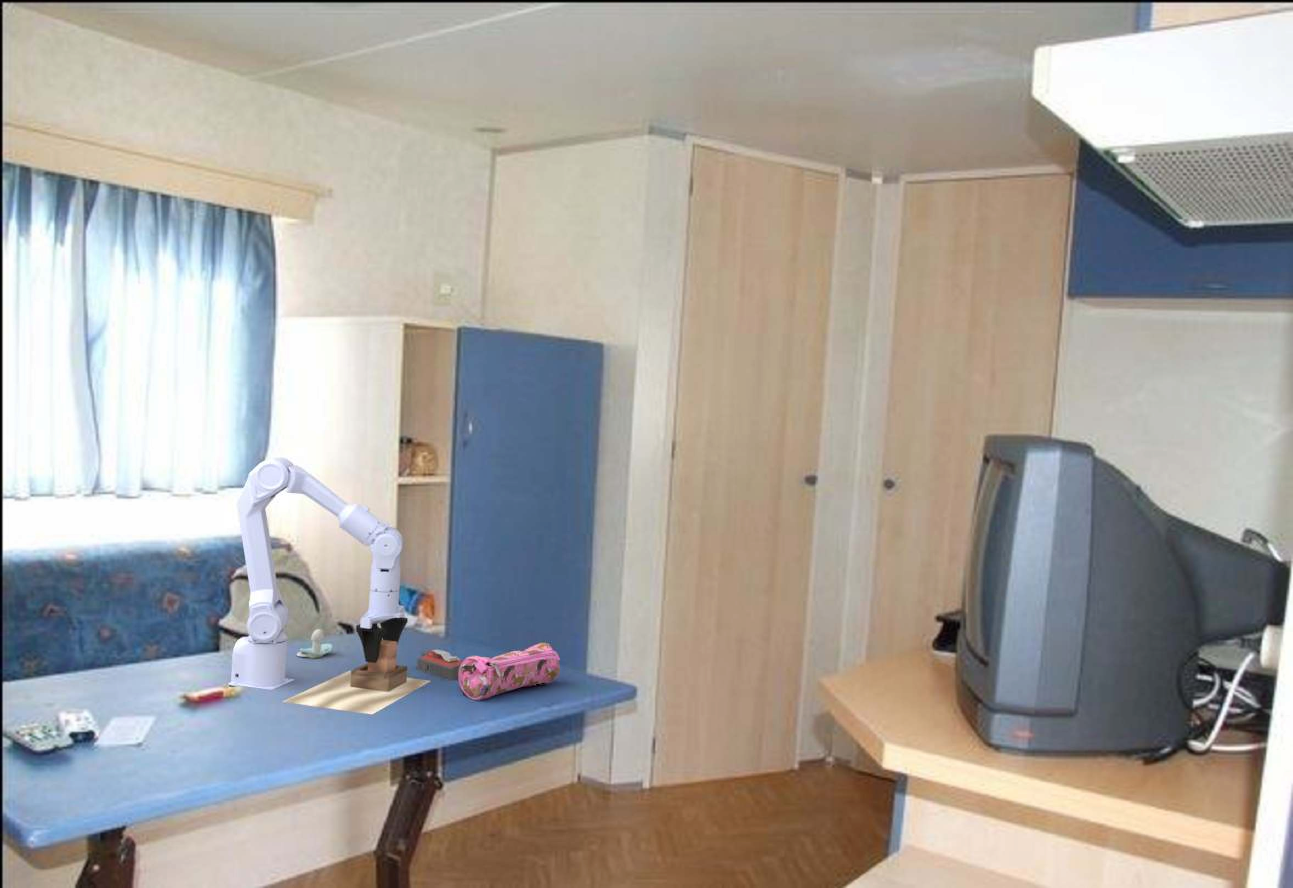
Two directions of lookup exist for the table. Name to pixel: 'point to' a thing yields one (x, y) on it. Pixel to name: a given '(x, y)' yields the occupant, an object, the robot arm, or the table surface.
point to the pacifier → (316, 646)
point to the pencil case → (508, 671)
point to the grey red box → (439, 664)
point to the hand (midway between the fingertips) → (380, 657)
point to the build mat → (360, 690)
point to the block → (385, 658)
